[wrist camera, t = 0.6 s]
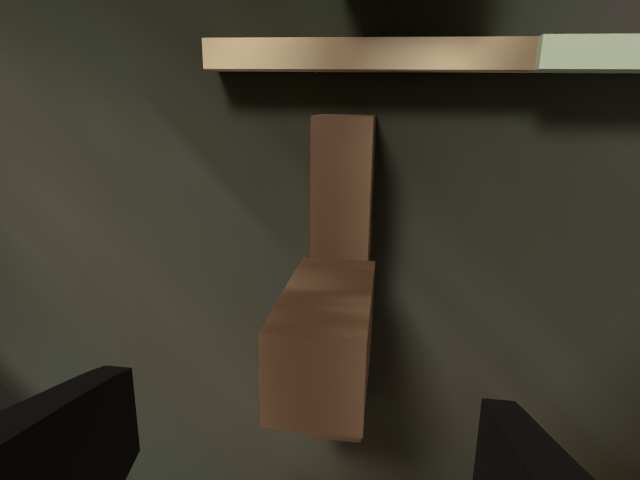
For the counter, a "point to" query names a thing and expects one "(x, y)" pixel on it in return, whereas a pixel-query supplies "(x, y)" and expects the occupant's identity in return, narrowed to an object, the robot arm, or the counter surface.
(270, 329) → the l-shaped wooden block
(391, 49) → the slot rails
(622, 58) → the tray
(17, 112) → the counter surface
